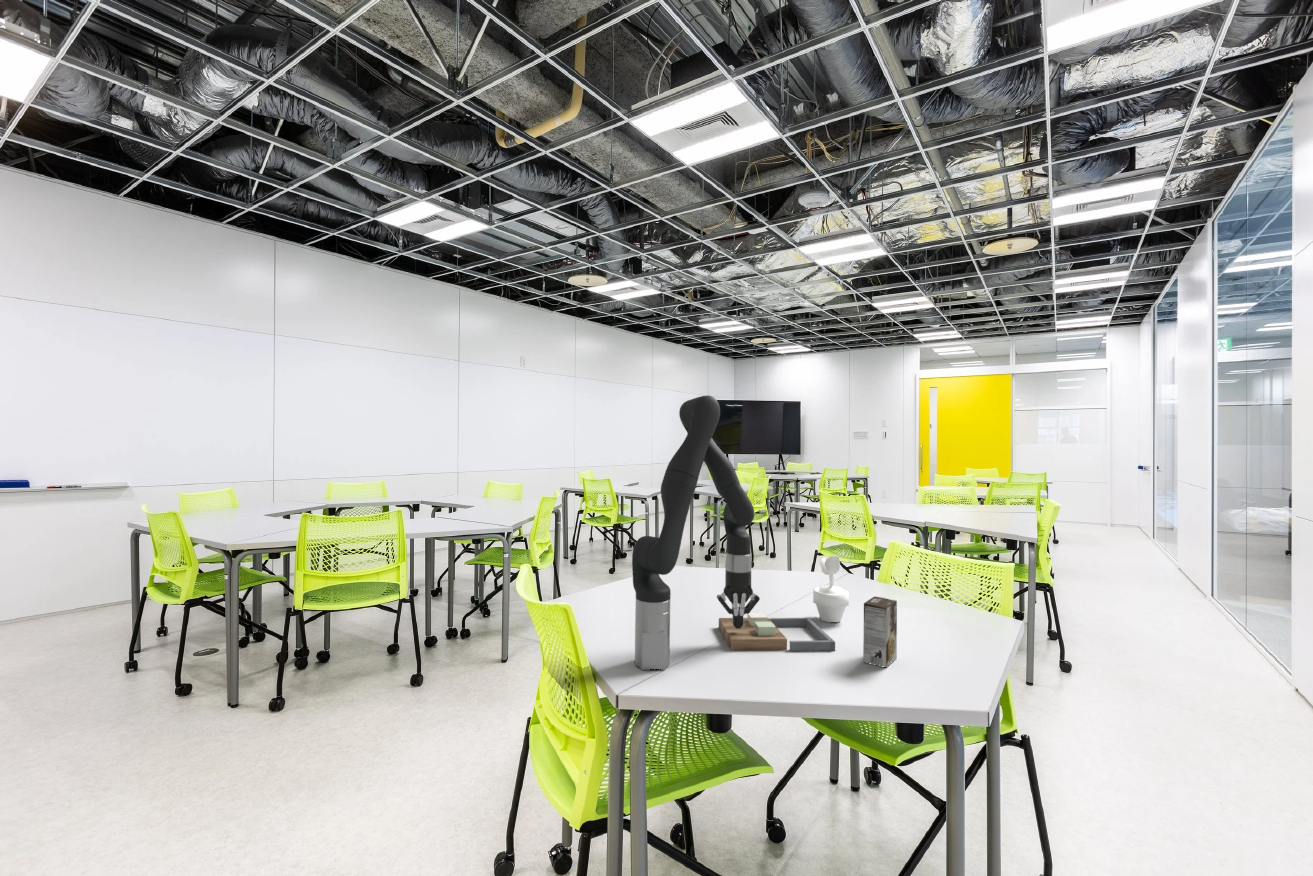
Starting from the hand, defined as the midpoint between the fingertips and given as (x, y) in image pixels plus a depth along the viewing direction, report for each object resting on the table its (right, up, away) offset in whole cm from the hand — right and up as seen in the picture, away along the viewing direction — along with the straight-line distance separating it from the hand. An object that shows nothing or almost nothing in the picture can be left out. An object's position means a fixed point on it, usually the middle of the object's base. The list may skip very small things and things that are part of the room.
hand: (737, 627), depth 167 cm
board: (+5, -5, +5) cm, 8 cm away
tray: (+19, -5, +6) cm, 20 cm away
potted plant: (+34, -6, +24) cm, 42 cm away
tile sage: (+8, -2, 0) cm, 8 cm away
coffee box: (+37, -5, -12) cm, 39 cm away
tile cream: (+7, -2, +9) cm, 12 cm away
